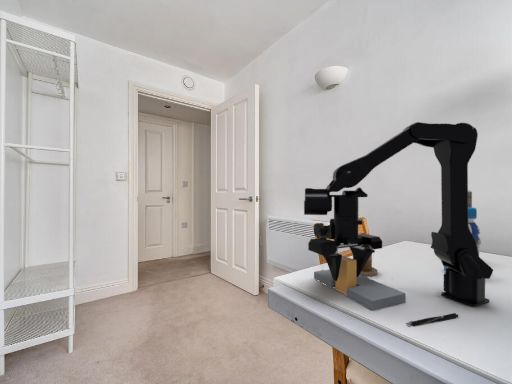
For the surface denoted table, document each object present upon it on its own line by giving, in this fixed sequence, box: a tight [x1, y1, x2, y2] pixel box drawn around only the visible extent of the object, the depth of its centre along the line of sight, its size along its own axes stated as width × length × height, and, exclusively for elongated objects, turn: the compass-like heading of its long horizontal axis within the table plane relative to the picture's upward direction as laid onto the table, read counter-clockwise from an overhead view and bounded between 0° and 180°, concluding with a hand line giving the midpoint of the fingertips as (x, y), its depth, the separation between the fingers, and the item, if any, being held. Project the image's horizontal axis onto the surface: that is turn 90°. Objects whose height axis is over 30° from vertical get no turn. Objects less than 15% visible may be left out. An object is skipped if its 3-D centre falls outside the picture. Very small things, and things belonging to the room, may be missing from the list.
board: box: [313, 268, 407, 312], centre depth 62 cm, size 20×10×2 cm, turn 23°
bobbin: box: [360, 246, 378, 278], centre depth 75 cm, size 8×8×9 cm
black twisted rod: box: [405, 312, 459, 328], centre depth 47 cm, size 12×1×1 cm, turn 106°
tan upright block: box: [335, 255, 356, 296], centre depth 61 cm, size 4×3×8 cm
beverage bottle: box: [443, 206, 482, 274], centre depth 73 cm, size 8×8×20 cm
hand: (345, 278), depth 61 cm, fingers open, 6 cm apart
